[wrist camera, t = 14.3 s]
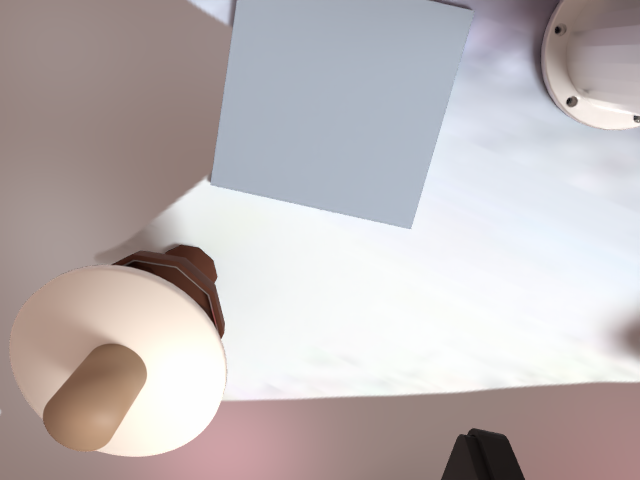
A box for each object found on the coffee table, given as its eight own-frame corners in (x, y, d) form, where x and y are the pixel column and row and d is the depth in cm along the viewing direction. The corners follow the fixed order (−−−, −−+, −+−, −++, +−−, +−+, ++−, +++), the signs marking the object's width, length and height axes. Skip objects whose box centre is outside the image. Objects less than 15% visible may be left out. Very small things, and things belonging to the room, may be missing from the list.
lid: (241, 290, 32) (219, 341, 26) (212, 463, 37) (188, 537, 31) (18, 243, 32) (-53, 285, 26) (18, 424, 36) (-42, 492, 31)
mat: (473, 11, 39) (474, 10, 39) (410, 227, 46) (410, 229, 45) (244, -42, 39) (243, -44, 39) (211, 183, 45) (210, 184, 45)
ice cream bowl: (108, 249, 48) (8, 330, 34) (209, 198, 46) (147, 261, 32) (169, 339, 51) (101, 448, 37) (266, 295, 49) (234, 392, 34)
